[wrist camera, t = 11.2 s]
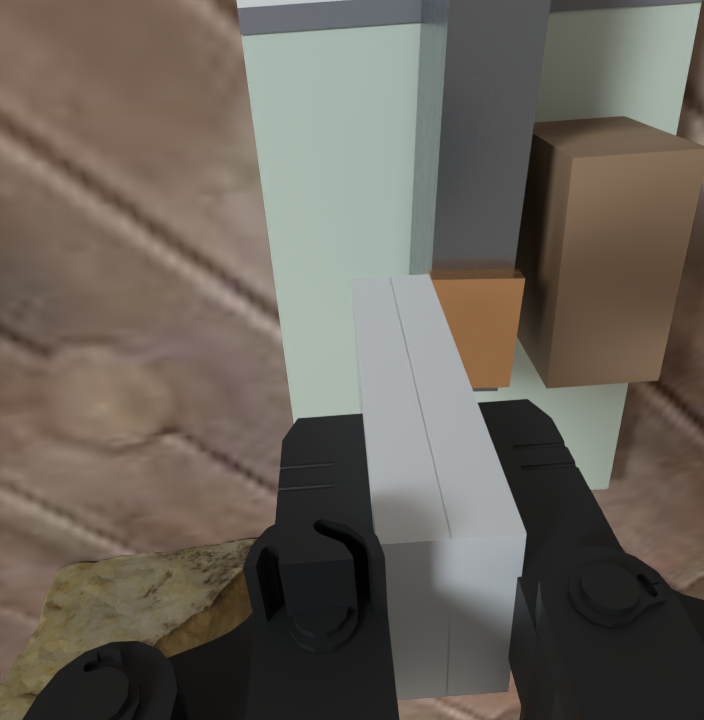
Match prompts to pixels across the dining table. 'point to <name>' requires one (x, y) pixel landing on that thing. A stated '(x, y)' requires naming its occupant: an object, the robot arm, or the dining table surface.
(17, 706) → the rock
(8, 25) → the dining table surface
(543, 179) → the block
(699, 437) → the dining table surface
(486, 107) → the bar
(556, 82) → the door plate
